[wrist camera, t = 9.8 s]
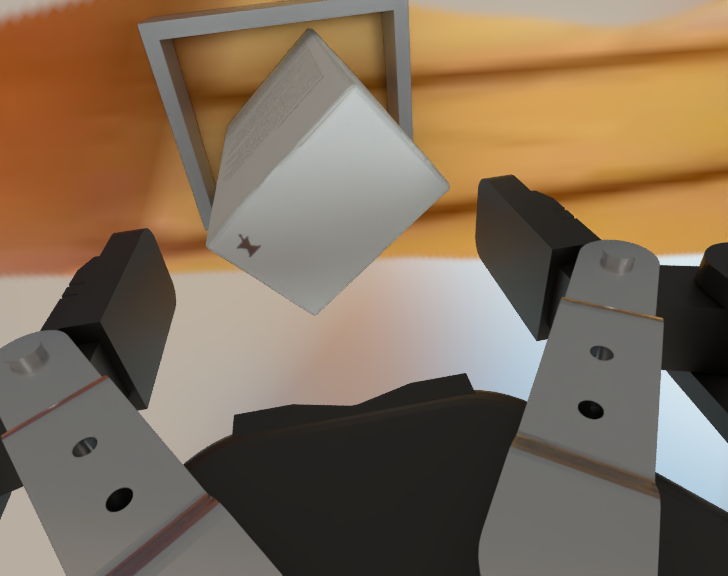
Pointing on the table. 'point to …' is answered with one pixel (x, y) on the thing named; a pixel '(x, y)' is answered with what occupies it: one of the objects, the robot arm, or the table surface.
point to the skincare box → (315, 179)
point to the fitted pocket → (301, 5)
